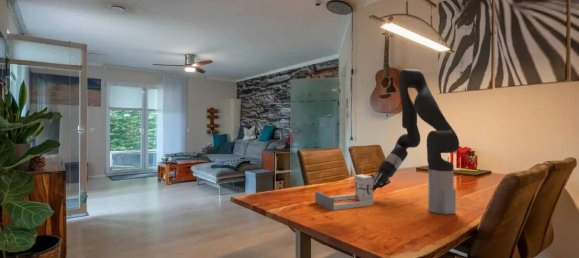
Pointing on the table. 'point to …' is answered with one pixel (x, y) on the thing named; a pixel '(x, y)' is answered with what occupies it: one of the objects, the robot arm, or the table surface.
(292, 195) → the table surface
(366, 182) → the ink box
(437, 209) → the robot arm
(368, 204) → the bay
